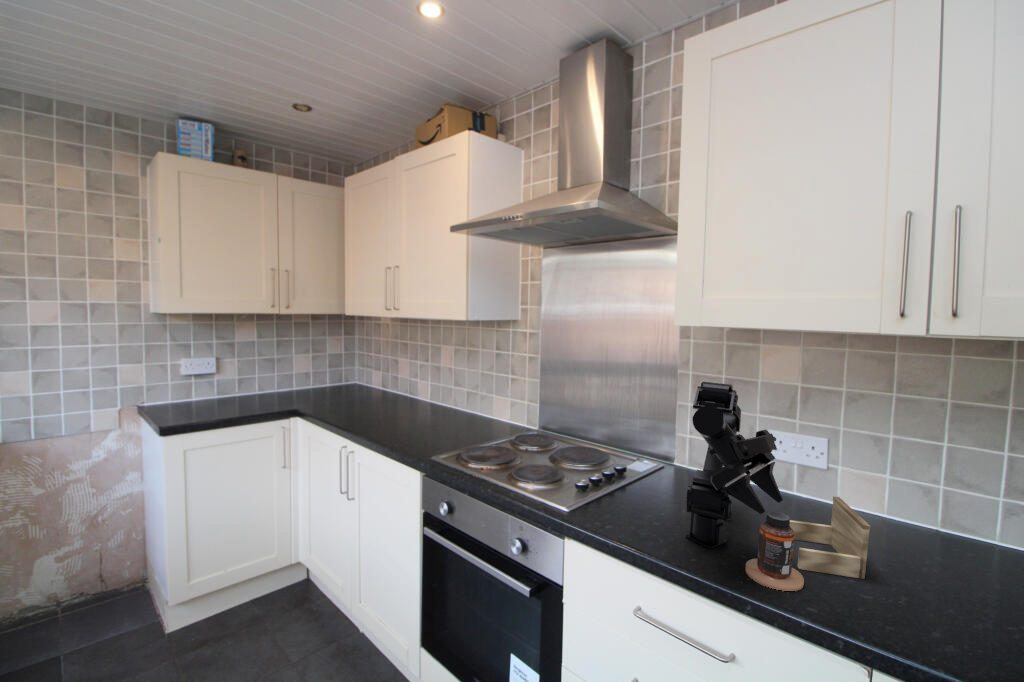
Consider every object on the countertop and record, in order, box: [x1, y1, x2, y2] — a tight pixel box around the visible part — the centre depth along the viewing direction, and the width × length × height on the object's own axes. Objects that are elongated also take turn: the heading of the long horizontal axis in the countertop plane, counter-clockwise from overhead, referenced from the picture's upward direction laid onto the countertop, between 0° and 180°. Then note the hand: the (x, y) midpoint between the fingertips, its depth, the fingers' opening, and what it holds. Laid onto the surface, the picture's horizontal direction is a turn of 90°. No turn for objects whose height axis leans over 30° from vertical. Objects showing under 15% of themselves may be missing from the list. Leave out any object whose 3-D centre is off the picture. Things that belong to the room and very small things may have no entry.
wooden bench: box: [789, 496, 872, 580], centre depth 104 cm, size 12×15×11 cm
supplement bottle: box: [757, 511, 795, 578], centre depth 94 cm, size 6×6×11 cm
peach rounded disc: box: [745, 557, 805, 592], centre depth 95 cm, size 10×10×1 cm
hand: (772, 507), depth 95 cm, fingers open, 9 cm apart
